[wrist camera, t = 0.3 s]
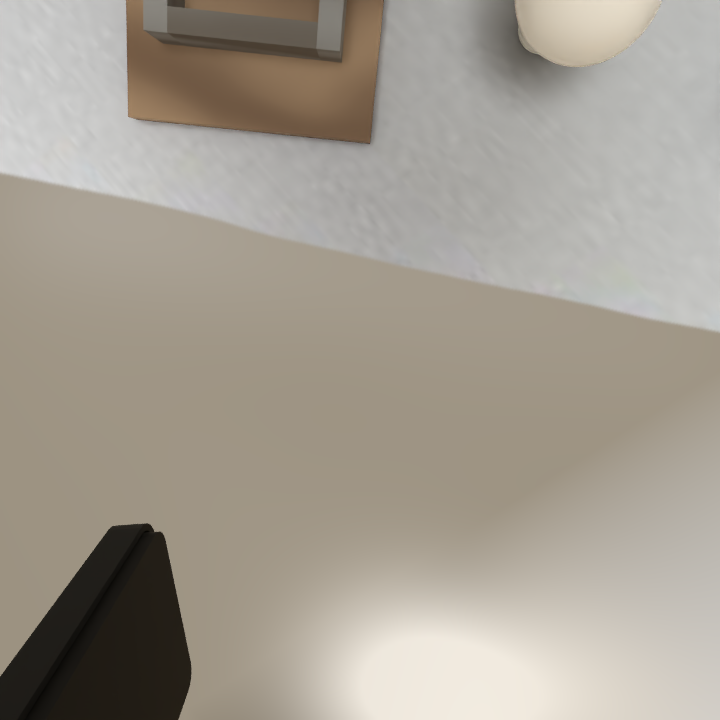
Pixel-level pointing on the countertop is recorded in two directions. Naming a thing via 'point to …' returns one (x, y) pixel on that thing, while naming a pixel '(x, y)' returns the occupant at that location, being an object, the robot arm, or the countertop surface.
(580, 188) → the countertop surface
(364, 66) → the lamp socket
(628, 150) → the countertop surface
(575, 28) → the lightbulb
